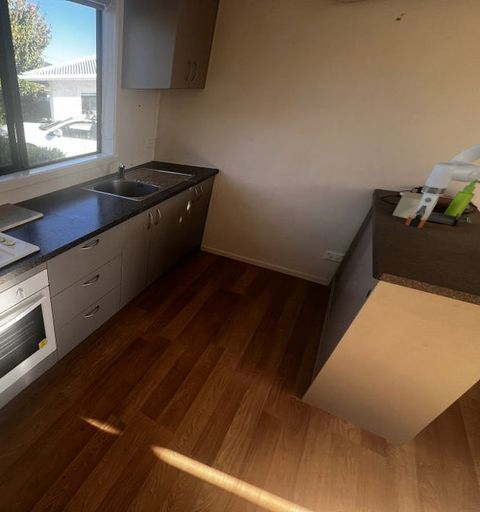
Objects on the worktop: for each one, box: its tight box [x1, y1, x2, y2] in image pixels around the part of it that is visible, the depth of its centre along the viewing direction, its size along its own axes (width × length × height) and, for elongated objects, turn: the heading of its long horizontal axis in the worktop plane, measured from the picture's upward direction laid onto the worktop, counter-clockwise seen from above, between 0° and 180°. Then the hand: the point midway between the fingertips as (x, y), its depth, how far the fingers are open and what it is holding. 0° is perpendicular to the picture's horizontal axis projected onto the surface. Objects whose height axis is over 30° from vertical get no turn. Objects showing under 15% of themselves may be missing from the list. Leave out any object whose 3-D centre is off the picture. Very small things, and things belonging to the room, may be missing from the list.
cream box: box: [392, 191, 440, 219], centre depth 156 cm, size 13×14×11 cm
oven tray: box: [426, 211, 472, 227], centre depth 149 cm, size 16×14×3 cm
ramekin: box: [404, 216, 428, 229], centre depth 146 cm, size 6×6×4 cm
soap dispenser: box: [443, 179, 480, 217], centre depth 153 cm, size 6×7×20 cm
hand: (413, 224), depth 146 cm, fingers closed on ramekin, 6 cm apart
